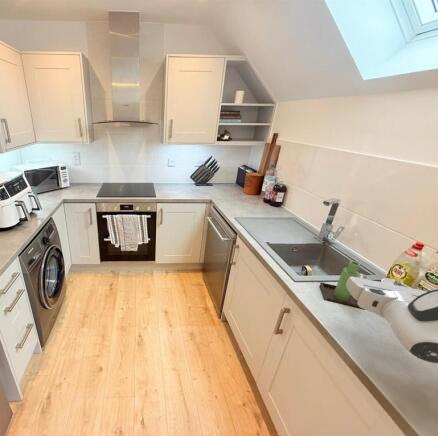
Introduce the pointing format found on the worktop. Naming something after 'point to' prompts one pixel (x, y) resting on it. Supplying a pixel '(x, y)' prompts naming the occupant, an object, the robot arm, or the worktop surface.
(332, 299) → the tray
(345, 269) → the soap bottle
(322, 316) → the worktop surface
